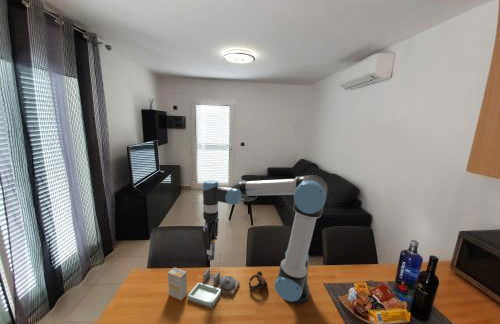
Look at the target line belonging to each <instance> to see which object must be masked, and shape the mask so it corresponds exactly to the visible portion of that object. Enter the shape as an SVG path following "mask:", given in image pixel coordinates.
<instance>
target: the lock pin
mask: <svg viewBox="0 0 500 324" xmlns="http://www.w3.org/2000/svg"><path fill="white" fill-rule="evenodd" d="M214 242H215V243H216V240H215V239H214V238H211V243H212V255H208V260H209V261H214V260H215V252H214Z"/></svg>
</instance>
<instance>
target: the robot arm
mask: <svg viewBox="0 0 500 324" xmlns="http://www.w3.org/2000/svg"><path fill="white" fill-rule="evenodd" d="M328 192H329V191H328V183H327V182H326V181H325V179H324V178H322V177H321V176H318V175H316V174H311V175H309V174H308V175H300V176H295V178H285V179H265V180H250V181H247V180H245V179H242V180H238V181H236V182H235V183H232V184H231V185H228V186H221V185H219V182H218V181H216V180H215V179H213V180H211V179H210V180H206V181H204V182H203V184H202V198H203V199H202V200H203V201H202V209H203V212H202V217H203V219H204V221H205V222H204V227H203V226H202V227H201V230H202V231H201V232H202V236H203V237H202V238H203V239H202V240H203V245H206V255H207V256H209V255H212V243H211V238H214V239H215V242H214V253H216V241H217V240H218V238H217V237H218V234H219V231H218V230H219V219H220V218H219V202H220V203H225V204H228V205H239V203H240V202H241V200H242V197H245V196H285V195H287V196H288V195H289V196H291V195H292V196H293V200H294V201H293V206H292V210H293V211H294V212H295V215H294V217H293V218H294V219H293V223H292V228H291V232H290V237H289V241H288V246H287V250H286V251H285V254H284V257H285V258H284V259H282V260H281V261H280V266H279V269H278V275H277V277H276V279H275V281H274V289H275V292H276V293H277V294H278V296H279V297H280V298H282V299H283V300H285V301H287V302H289V303H291V304H295V305H301V304H305V303H307V302H308V300H309V299H310V293H311V291H310V287H309V282H308V276H309V275H308V274H309V262H310V255H309V251H310V248H311V247H310V246H311V242H312V238H313V233H314V230H315V226H316V223H317V219H319V218H321V216H322V214H323V210H324V207H325V204H326V202H327V201H326V200H327V195H328Z"/></svg>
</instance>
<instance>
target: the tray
mask: <svg viewBox="0 0 500 324" xmlns="http://www.w3.org/2000/svg"><path fill="white" fill-rule="evenodd" d="M221 295H222V293H221V289H219V288H216V287H213V286H209V285H206V284H203V282H197V283H196V284H195V285H194V287H193V288H192V289H191V291H190V292H189V293H187V301H190V302H192V303H196V304H199V305H202V306H205V307H207V308H211V309H213V308H214V306H215V304H216V303H217V302H218V300H219V298H220V296H221Z"/></svg>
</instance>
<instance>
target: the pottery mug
mask: <svg viewBox="0 0 500 324" xmlns="http://www.w3.org/2000/svg"><path fill="white" fill-rule="evenodd" d="M254 278H256V279H257V281H258V283H257V284H256V285H253V284H252V285H251V282H252V281H253V279H254ZM264 285H265V286H266V287H265V286H264ZM264 287H265V289H266V291H267V292H268V291H269V286H268V282H267V280H266V278H265V277H264V276H263V273H262V271H257V272H256V274H253V275H252V276H251V277H250V278H249V282H248V288H249V289H250V291H252V292H255V291H256V292H260V290H259V289H260V288H264Z"/></svg>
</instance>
